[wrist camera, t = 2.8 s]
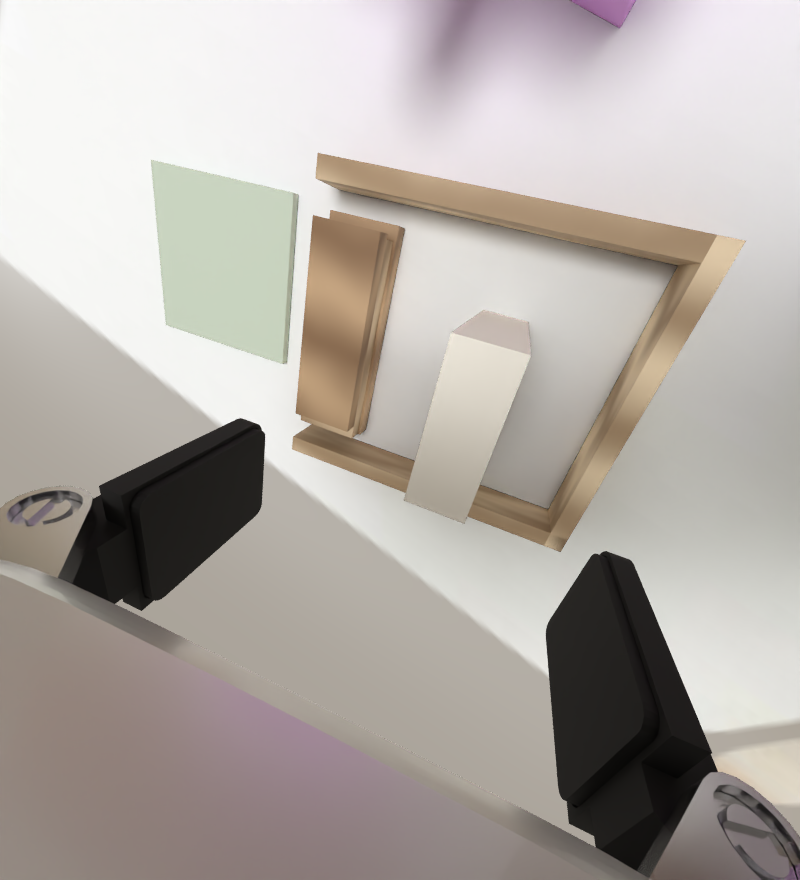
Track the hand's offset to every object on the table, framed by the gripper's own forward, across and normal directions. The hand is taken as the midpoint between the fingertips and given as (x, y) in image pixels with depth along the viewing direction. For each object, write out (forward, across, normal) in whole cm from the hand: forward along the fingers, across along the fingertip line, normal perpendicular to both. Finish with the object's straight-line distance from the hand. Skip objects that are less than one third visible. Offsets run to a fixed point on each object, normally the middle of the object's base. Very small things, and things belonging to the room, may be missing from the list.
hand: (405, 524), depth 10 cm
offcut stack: (+18, +10, 0) cm, 20 cm away
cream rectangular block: (+18, -1, 0) cm, 18 cm away
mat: (+18, +21, -2) cm, 28 cm away
